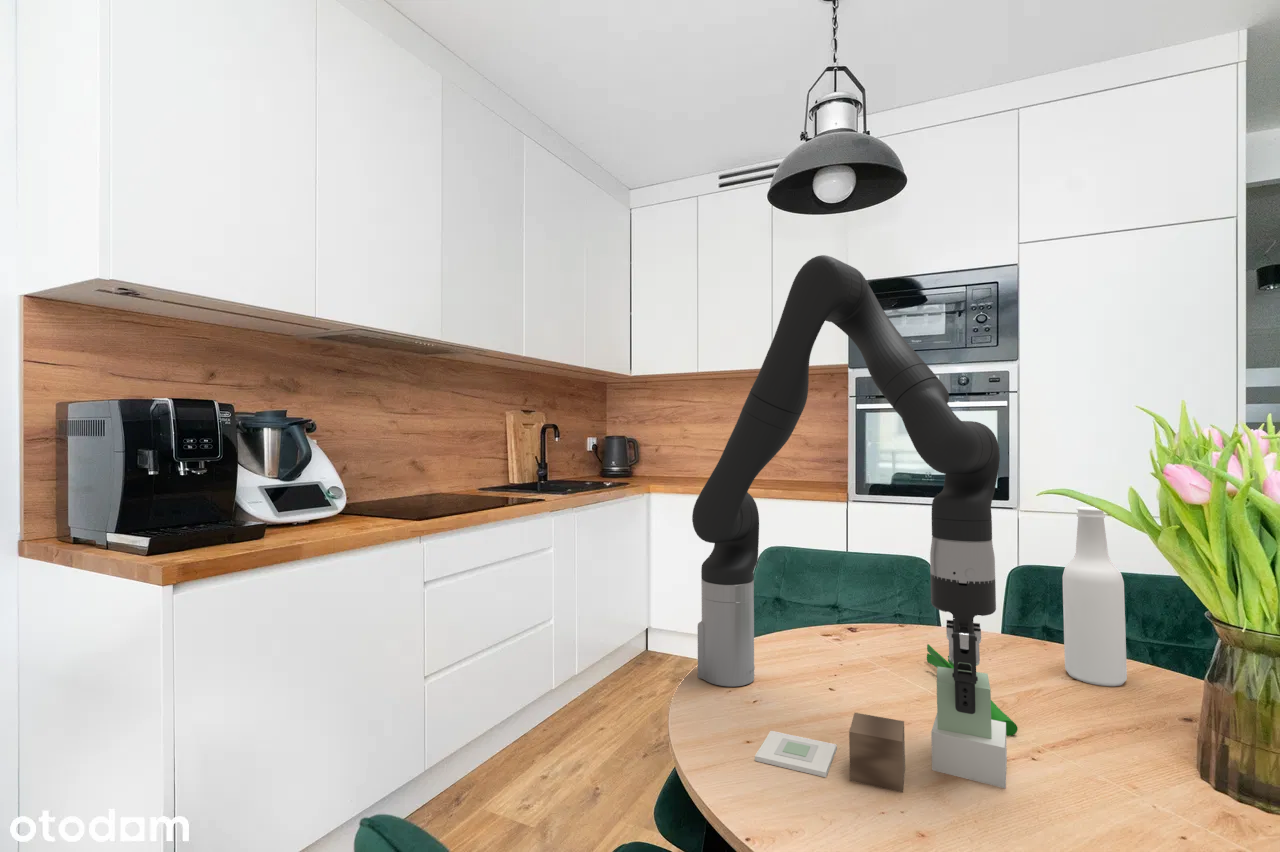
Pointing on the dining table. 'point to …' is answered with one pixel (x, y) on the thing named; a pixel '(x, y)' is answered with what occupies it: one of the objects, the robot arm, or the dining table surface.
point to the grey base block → (971, 754)
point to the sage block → (957, 720)
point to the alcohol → (1094, 607)
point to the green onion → (995, 711)
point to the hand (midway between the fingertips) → (964, 700)
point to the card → (797, 753)
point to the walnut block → (877, 752)
